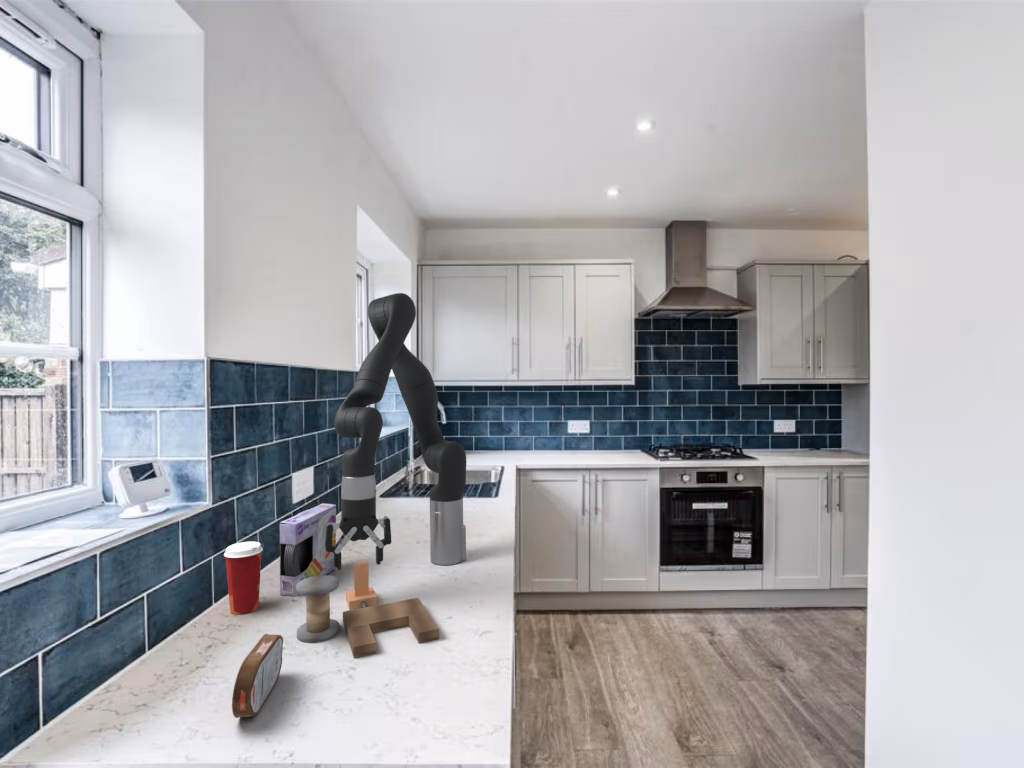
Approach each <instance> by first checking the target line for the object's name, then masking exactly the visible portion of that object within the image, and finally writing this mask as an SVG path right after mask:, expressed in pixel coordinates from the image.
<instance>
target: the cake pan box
mask: <svg viewBox="0 0 1024 768" xmlns="http://www.w3.org/2000/svg"><path fill="white" fill-rule="evenodd" d="M328 522H331V523H337V505H336V504H333V503H320V504H318V505H316V506H314V507H312V508H310V509H306V510H303V511H302V512H299V513H297V514H296V515H294V516H291V517H289V518H287V519H285V520H281V521H280V522H279V585H280V586H279V587H280V588H279V595H280V596H288V597H298V596H299V594H297V592H296V585H297V583H298V582H300V581H301V580H304V579H306V578H310V577H314V576H321V575H328V574H330V572H332V571H334V570H335V569H336V568H335V565H334V553H333V552H327V551H326V548H325V541H326V525H327V523H328ZM336 543H337V532H336V533H334V534H333V538H332V545H336Z"/></svg>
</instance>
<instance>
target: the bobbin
mask: <svg viewBox="0 0 1024 768" xmlns="http://www.w3.org/2000/svg"><path fill="white" fill-rule="evenodd" d="M339 586H340V580H339V578H338V577H337V576H336V575H335V576H334V575H328V574H327V575H321V576H314V577H310V578H306V579H304V580H301V581H300V582H298V583H297V585H296V592H297V594H299V595H300V596H303V597H304V596H305V609H306V610H305V614H306V617H305V621H306V622H305V623H303V624H301V625H300V626H299V627H298V628H297V629H296V639H297V640H298V641H299V642H302V643H307V644H314V643H315V644H316V643H321V642H325V641H327V640H331V639H332V638H334V637H335V636H337V635H338V634H339V632H340V630H341V629H340V622H339V621H338V620H337V619H333V618H331V607H330V606H331V605H330V604H331V602H330V598H331V597H330V593H333V592H334V591H336V590H337V589H338V588H339ZM299 595H298V596H299Z"/></svg>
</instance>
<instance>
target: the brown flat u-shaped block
mask: <svg viewBox="0 0 1024 768" xmlns="http://www.w3.org/2000/svg"><path fill="white" fill-rule="evenodd" d="M342 624H343V628H344V631H345V633H346V637H347V641H348V643H349V647H350V651H351V653H352V654H351V655H352V657H353V659H355V658H360V657H364V656H365V657H366V656H370V655H373V654H377V641H376V639H375V635H374V634H375V633H380V632H384V631H385V632H386V631H389V630H394V629H398V628H403V627H409V628H410V630H411V632H412V634H413V636H414V638H415V639H416V641H417V643H418V644H422V643H426V642H431V641H435V640H439V639H440V628H439V627H438V624H437V623H436V622H435V621H434V619H433V618H432V615H430V613H429V612H428V610H427V609H426V607H425V605H423V603H422V601H421V600H420V599H419V597H414V598H413V597H412V598H409V599H404V600H398V601H392V602H387V603H382V604H377V605H374V606H369V607H365V608H359V609H353V610H346V611H345V610H344V611H342Z"/></svg>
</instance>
